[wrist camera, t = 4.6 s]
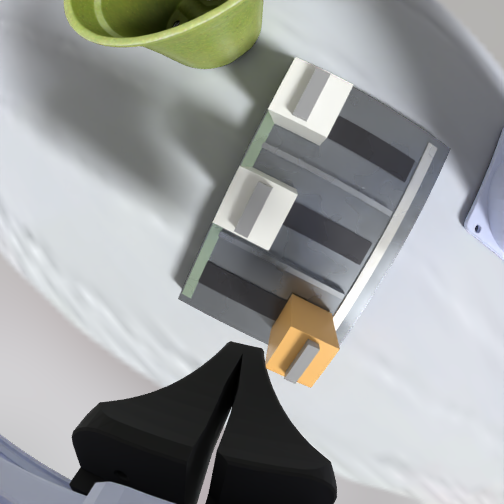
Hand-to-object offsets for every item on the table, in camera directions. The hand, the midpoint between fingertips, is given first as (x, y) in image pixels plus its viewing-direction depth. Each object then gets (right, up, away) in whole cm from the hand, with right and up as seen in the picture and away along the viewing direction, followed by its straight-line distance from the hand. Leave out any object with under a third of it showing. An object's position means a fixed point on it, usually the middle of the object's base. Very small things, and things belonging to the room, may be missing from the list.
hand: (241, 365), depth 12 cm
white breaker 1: (+1, +7, +5) cm, 9 cm away
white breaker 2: (+3, +12, +4) cm, 13 cm away
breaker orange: (+3, 0, +6) cm, 7 cm away
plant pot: (-2, +18, +4) cm, 19 cm away
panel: (+4, +6, +6) cm, 10 cm away
